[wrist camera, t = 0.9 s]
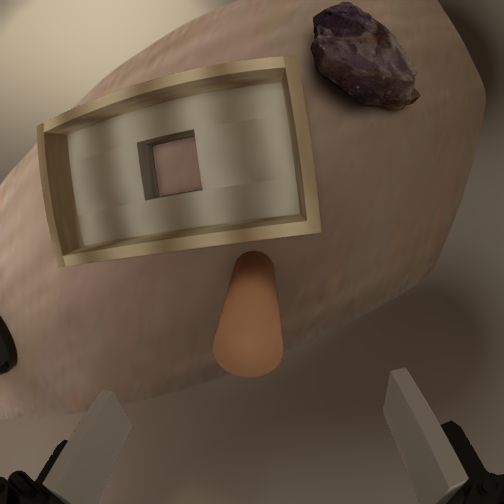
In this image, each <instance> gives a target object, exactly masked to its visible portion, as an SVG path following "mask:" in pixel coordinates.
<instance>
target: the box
mask: <svg viewBox="0 0 504 504" xmlns="http://www.w3.org/2000/svg"><path fill="white" fill-rule="evenodd" d="M194 136H195V140H196V147H197V154H198V162H199V168H200V175H201V182H202V189H201V190H195V191H189V192H183V193H178V194H172V195H167V196H162V197H159V192H158V186H157V179H156V172H155V166H154V158H153V151H152V146H153V145H157V144H161V143H166V142H170V141H174V140H179V139H184V138H189V137H194ZM37 142H38V156H39V167H40V176H41V184H42V191H43V198H44V204H45V210H46V215H47V221H48V226H49V230H50V235H51V240H52V244H53V248H54V252H55V256H56V260H57V264H58V267H64V266H71V265H78V264H85V263H92V262H99V261H106V260H113V259H120V258H127V257H134V256H142V255H149V254H156V253H164V252H171V251H179V250H186V249H194V248H201V247H209V246H217V245H224V244H232V243H240V242H248V241H256V240H264V239H272V238H280V237H288V236H296V235H304V234H313V233H321V224H320V213H319V203H318V193H317V184H316V176H315V167H314V159H313V152H312V145H311V138H310V131H309V124H308V118H307V112H306V106H305V100H304V94H303V88H302V83H301V77H300V72H299V67H298V62H297V57H296V56H282V57H270V58H260V59H252V60H244V61H237V62H230V63H224V64H218V65H213V66H207V67H202V68H198V69H193V70H188V71H184V72H180V73H176V74H172V75H168V76H164V77H160V78H157V79H153V80H150V81H146V82H143V83H140V84H137V85H134V86H130V87H127V88H124V89H122V90H119V91H116V92H113V93H110V94H108V95H105V96H102V97H100V98H97V99H95V100H92V101H90V102H87V103H85V104H83V105H80V106H78V107H76V108H73V109H71V110H69V111H67V112H65V113H62V114H60V115H58V116H56V117H54V118H52V119H50V120H48V121H46V122H44V123H42V124H40V125H38V126H37Z"/></svg>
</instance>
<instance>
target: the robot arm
mask: <svg viewBox="0 0 504 504" xmlns="http://www.w3.org/2000/svg"><path fill="white" fill-rule="evenodd" d="M16 362H17V353H16V349H15V345H14V343H13V340H12V338H11V335H10V333H9V331H8V329H7V327H6V326H5V324H4V322H3V321H2V319H1V318H0V375H1V374H4V373H7V372H9V371H10V370H11V369H12V368H13V367H14V366H15V365H16ZM383 413H384V415H385V417H386V420H387V422H388V425H389V427H390V430H391V432H392V434H393V437H394V439H395V442H396V444H397V446H398V449H399V452H400V454H401V457H402V459H403V462H404V465H405V467H406V470H407V472H408V475H409V478H410V480H411V483H412V485H413V488H414V491H415V494H416V497H417V500H418V503H419V504H504V474H503V475H496V474H493V473H489V472H488V471H487V470H486V469H485V468H484V466H483V464H482V463H481V461H480V459H479V457H478V456H477V454H476V452H475V450H474V448H473V447H472V445H470V442H469V440H468V438H466V435H465V433H464V432H463V430H462V428H461V427H460V426H459V425H457V424H456V423H454V422H453V421H450V422H447V423H444V424H442V425H440V424H439V422H438V421H437V419H436V417H435V416H434V414H433V412H432V410H431V409H430V407H429V405H428V404H427V402H426V400H425V399H424V397H423V395H422V393H421V392H420V390H419V389H418V387H417V385H416V384H415V382H414V380H413V379H412V377H411V376H410V374H409V373H408V371H407V369H406V368H401V369H398V370H394V371H391V372H390V377H389V383H388V389H387V394H386V399H385V404H384V408H383ZM132 427H133V426H132V424H131V423H130V421H129V419H128V417H127V416H126V414H125V412H124V410H123V408H122V406H121V404H120V402H119V401H118V399H117V397H116V395H115V393H114V391H112V390H103V389H101V391H100V392H99V394H98V395H97V397H96V398H95V400H94V401H93V403H92V404H91V406H90V408H89V409H88V411H87V412H86V414H85V415H84V417H83V418H82V420H81V422H80V423H79V425H78V426H77V428H76V429H75V431H74V432H73V434H72V436H71V437H70V439H69V440H68V441H67V440H64V441H62V442H61V443H60V444H59V445H57V447H56V448H55V450H54V452H53V455H51V456H50V458H49V460H48V461H47V463H46V464H45V466H44V468H43V469H42V471H41V473H40V474H39V476H38V478H37V479H36V481H35V482H34V481H33V480H32V479H31V478H30V477H29V476H28V475H27V474H26V473H25V472H23V471H16V472H13V473H12V474H11V475H10V476H9V478H8V481H7V480H6V479H5V478H3V477H0V504H98V503H99V501H100V499H101V496H102V494H103V491H104V489H105V487H106V485H107V482H108V480H109V478H110V475H111V473H112V471H113V469H114V467H115V464H116V462H117V460H118V457H119V455H120V453H121V451H122V449H123V447H124V444H125V442H126V440H127V438H128V436H129V434H130V431H131V429H132Z"/></svg>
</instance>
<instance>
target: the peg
mask: <svg viewBox="0 0 504 504" xmlns="http://www.w3.org/2000/svg"><path fill="white" fill-rule="evenodd" d="M213 354H214V357H215V359H216V361H217V362H218V364H219V365H220V366H221V367H222V368H223V369H224V370H226V371H227V372H229V373H231V374H233V375H236V376H239V377H247V378H251V377H252V378H253V377H258V376H262V375H265V374H267V373H269V372H271V371H272V370H274V369H275V368H276V367H277V366H278V364H279V363H280V361H281V359H282V356H283V340H282V332H281V323H280V315H279V307H278V299H277V291H276V283H275V275H274V267H273V263H272V261H271V260H270V258H269V257H268V256H267V255H265V254H264V253H261V252H258V251H250V252H246V253H244V254H242V255H241V256H240V257H239V258H238V259H237V261H236V263H235V266H234V270H233V273H232V277H231V281H230V284H229V288H228V291H227V295H226V299H225V302H224V306H223V310H222V313H221V317H220V321H219V324H218V328H217V332H216V335H215V339H214V343H213Z"/></svg>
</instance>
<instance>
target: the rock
mask: <svg viewBox="0 0 504 504" xmlns="http://www.w3.org/2000/svg"><path fill="white" fill-rule="evenodd" d="M313 23H314V33H315V37H314V38H315V41H314V42H313V43H312V45H311V48H310V49H311V52H312V54H313V56H314V61H315V68H316V70H317V71H318V73H319V74H321V75H322V76H323V77H325V79H328V80H329V81H330V82H331V83H333V84H335V85H336V86H338V87H339V88H340V89H342V90H345V91H346V92H348V94H349V95H350V96H351V97H353V98H355V99H357V100H358V101H359V102H360V103H361V104H363V105H364V106H370V105H378V106H382V107H385V108H387V109H389V110H402V109H404V106H406V105H410V104H413V103H414V102H415V101H416V100H417V99H418V98H419V97H420V94H419V92H418V91H417V90H416V89H415V88H414V84H415V76H416V75H417V72H416V70H415V68H414V65H413V64H412V63H411V62H410V61H409V60H408V59H407V58H406V56H405V53H406V52H405V50H404V49H403V48H402V46H401V45H400V43H399V41H398V40H397V38H396V37H395V35H393V34H392V33H391V32H390V31H389V30H388V29H387V28H386V27H385V26H383V25H382V24H381V23H379V22H378V21H376V20H375V19H373V18H372V16H371V15H370V14H368V13H366V12H363V11H362V10H361V9H360V8H359V7H357V6H354V5H353V4H351V3H350V2H342V3H340V4H339V5H335V6H332V7H329V8H327V9H325V10H323V11H322V12H320V13H319V14H317V15H316V16H314V17H313Z"/></svg>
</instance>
